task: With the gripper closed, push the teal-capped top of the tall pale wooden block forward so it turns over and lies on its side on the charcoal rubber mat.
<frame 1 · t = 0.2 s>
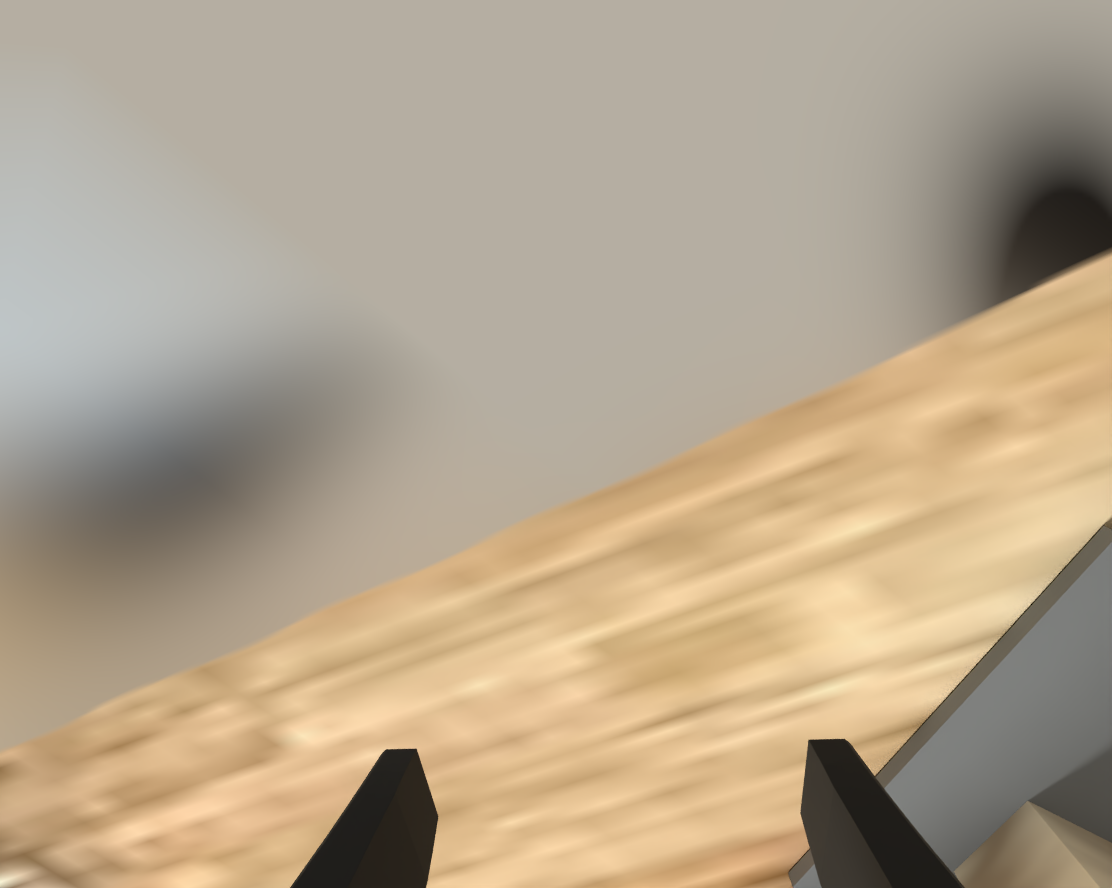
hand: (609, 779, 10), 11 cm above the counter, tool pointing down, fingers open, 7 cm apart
mat: (1077, 797, 21), on the counter
tall block: (1036, 860, 22), point 1 cm above the counter, touching mat
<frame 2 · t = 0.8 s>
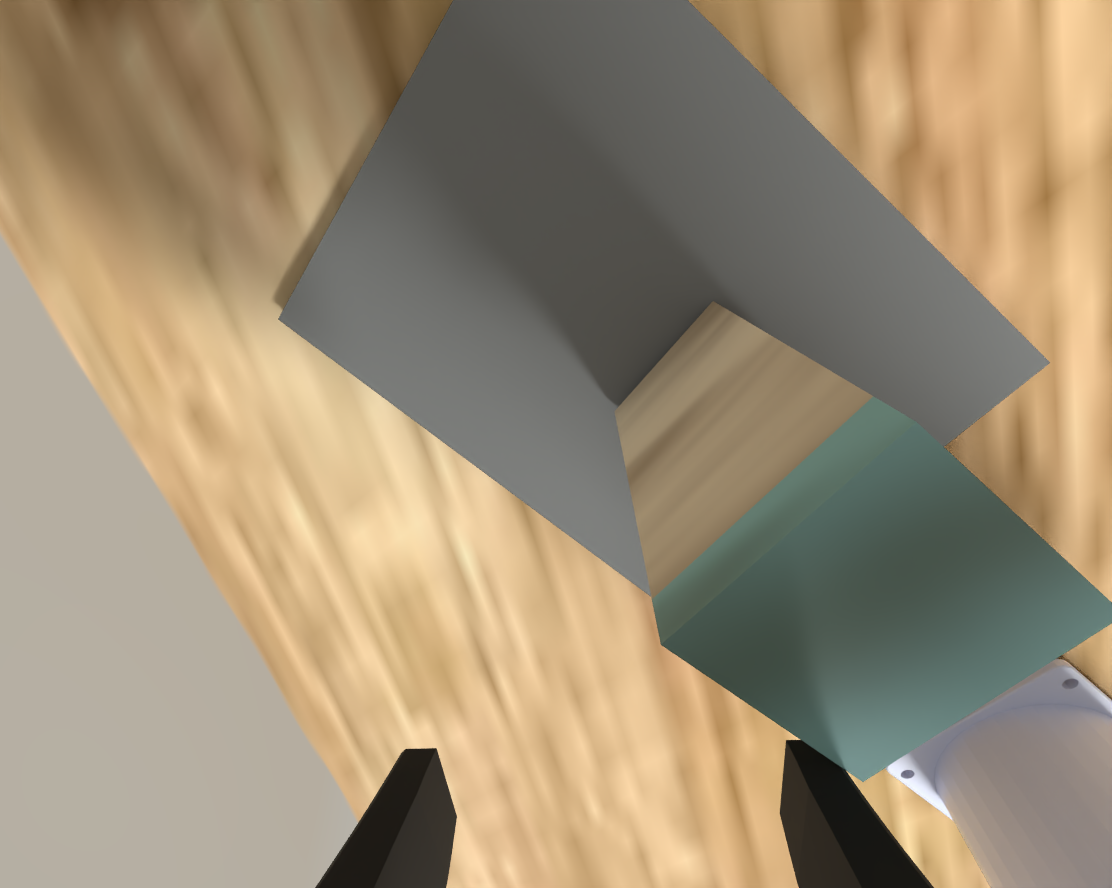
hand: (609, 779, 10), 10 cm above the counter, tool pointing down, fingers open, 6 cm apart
mat: (640, 335, 17), on the counter
tall block: (713, 401, 17), point 1 cm above the counter, touching gripper, mat
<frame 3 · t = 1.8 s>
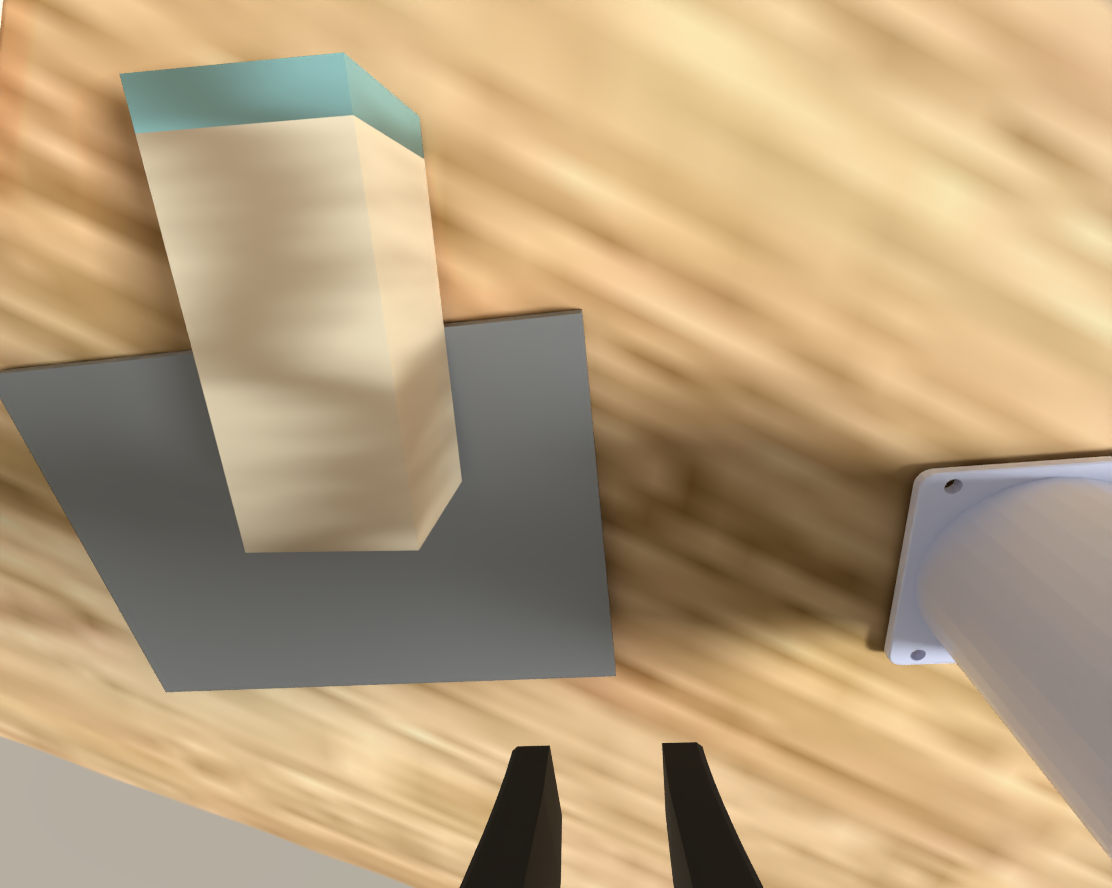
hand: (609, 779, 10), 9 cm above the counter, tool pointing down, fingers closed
mat: (339, 530, 20), on the counter
tall block: (367, 512, 15), point 3 cm above the counter, tilted 96°, touching mat
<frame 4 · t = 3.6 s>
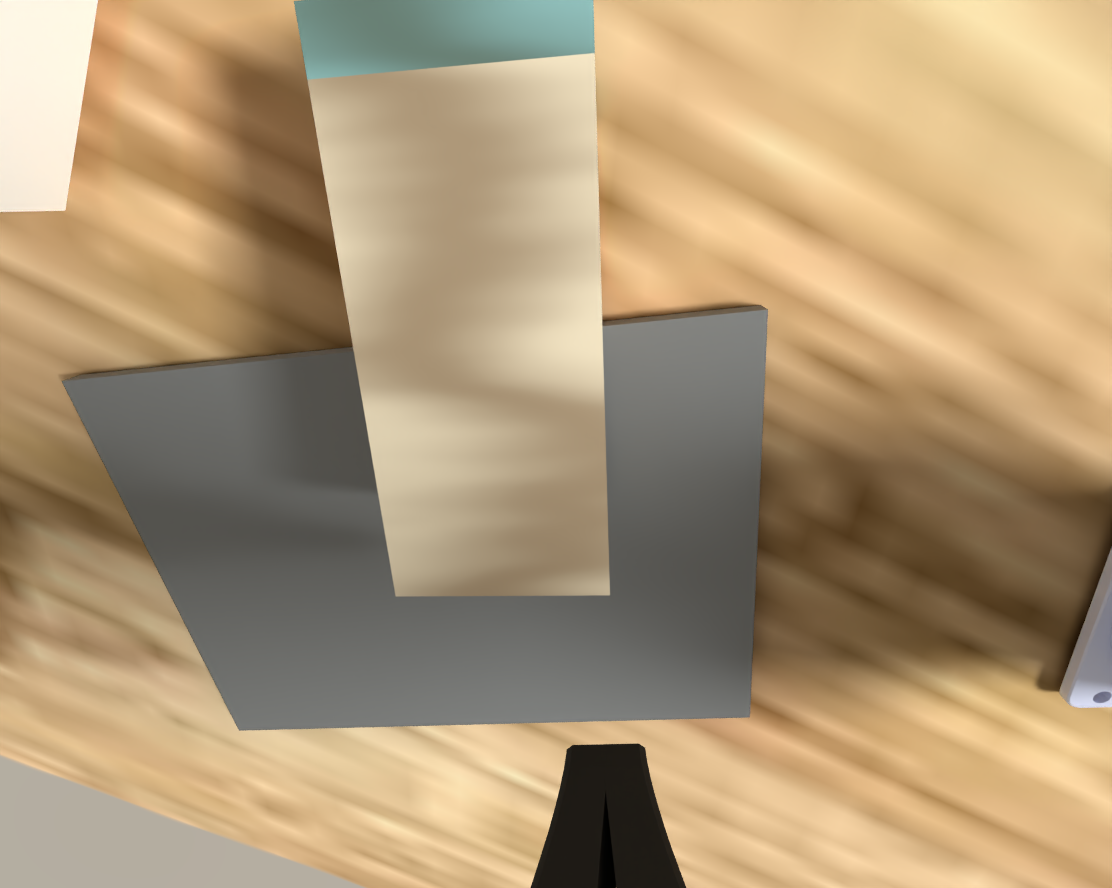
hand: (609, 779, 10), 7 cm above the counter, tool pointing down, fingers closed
mat: (448, 556, 17), on the counter
tall block: (516, 543, 13), point 3 cm above the counter, tilted 96°, touching mat
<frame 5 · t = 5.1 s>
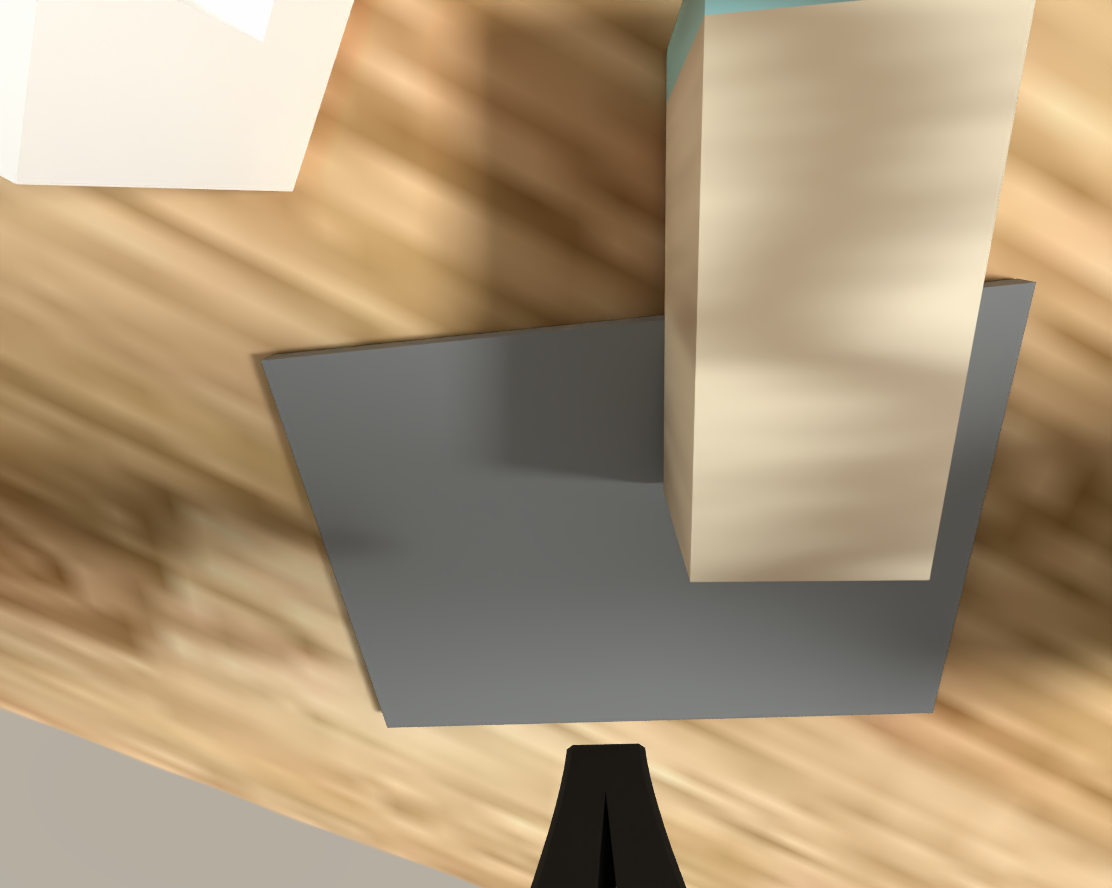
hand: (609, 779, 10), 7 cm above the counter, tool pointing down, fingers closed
mat: (634, 545, 17), on the counter
tall block: (771, 527, 12), point 3 cm above the counter, tilted 96°, touching mat
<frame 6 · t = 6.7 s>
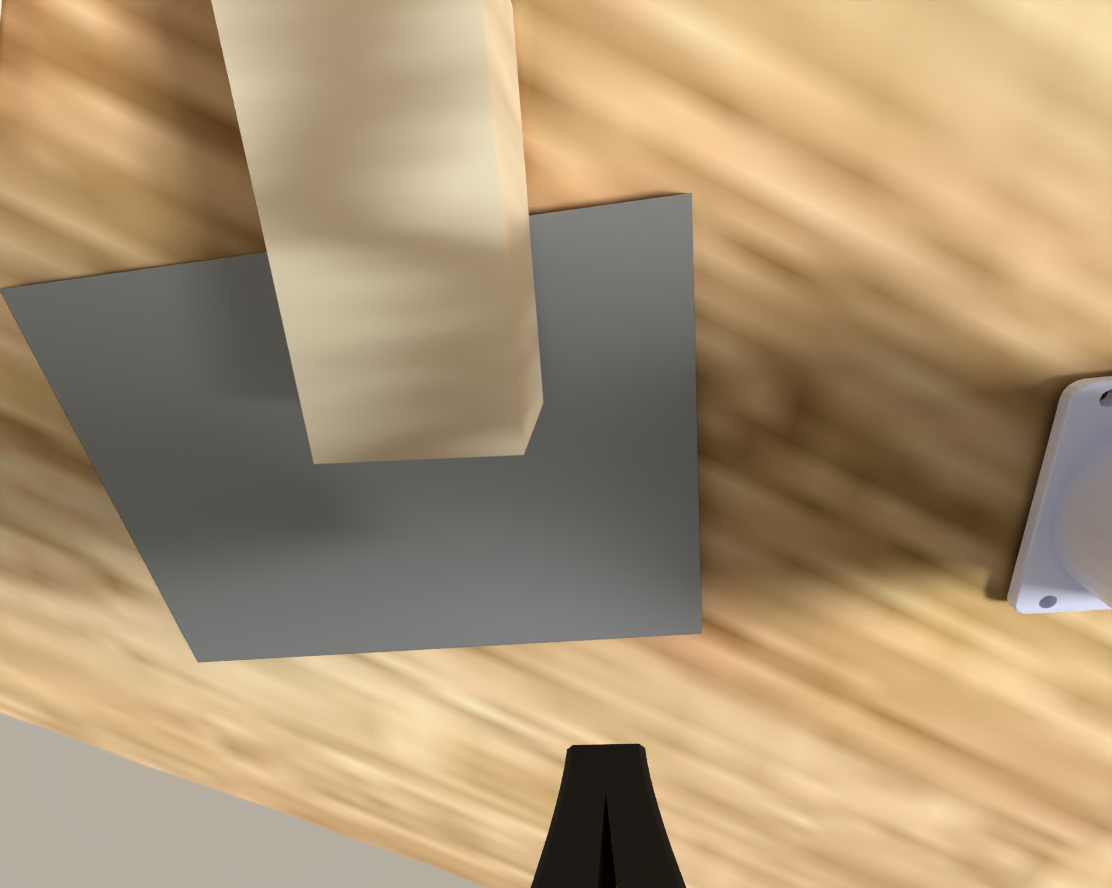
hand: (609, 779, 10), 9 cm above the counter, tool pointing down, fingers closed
mat: (395, 471, 17), on the counter
tall block: (445, 428, 13), point 3 cm above the counter, tilted 96°, touching mat
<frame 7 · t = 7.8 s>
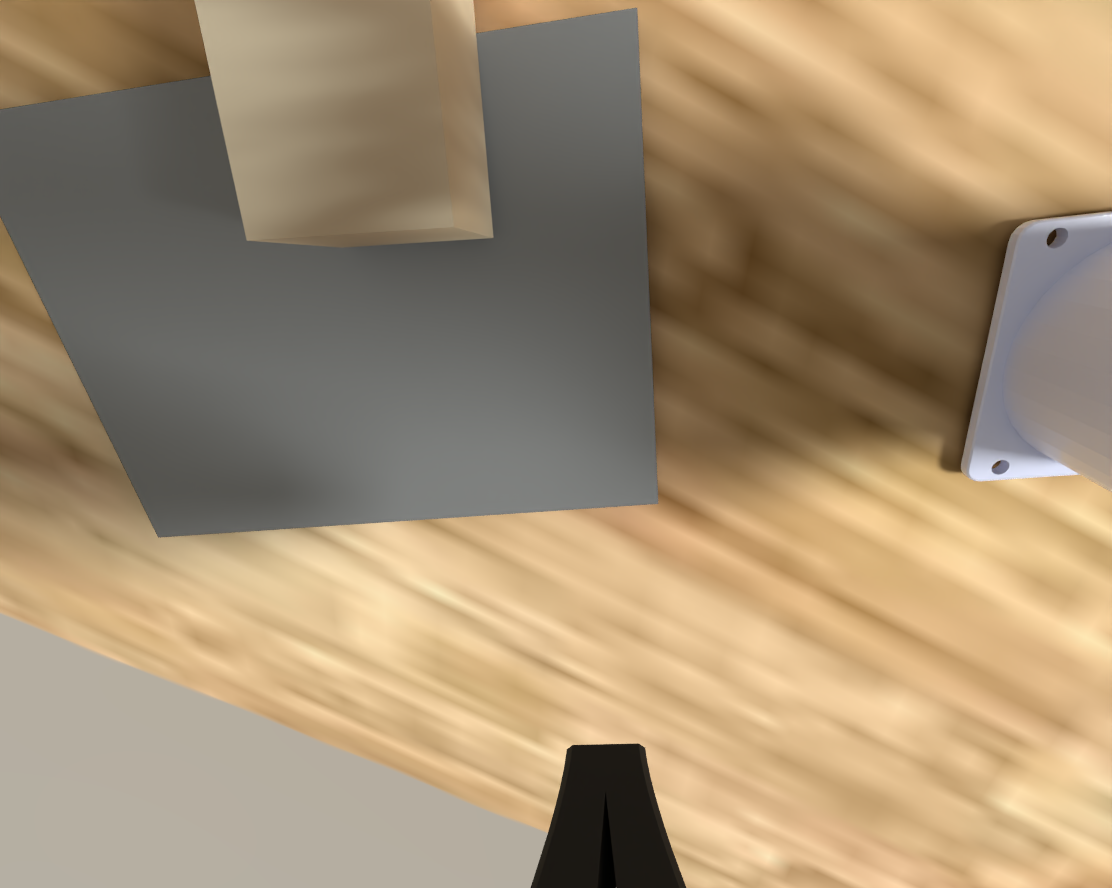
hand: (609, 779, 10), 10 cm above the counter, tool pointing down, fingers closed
mat: (351, 327, 17), on the counter
tall block: (388, 239, 13), point 3 cm above the counter, tilted 96°, touching mat
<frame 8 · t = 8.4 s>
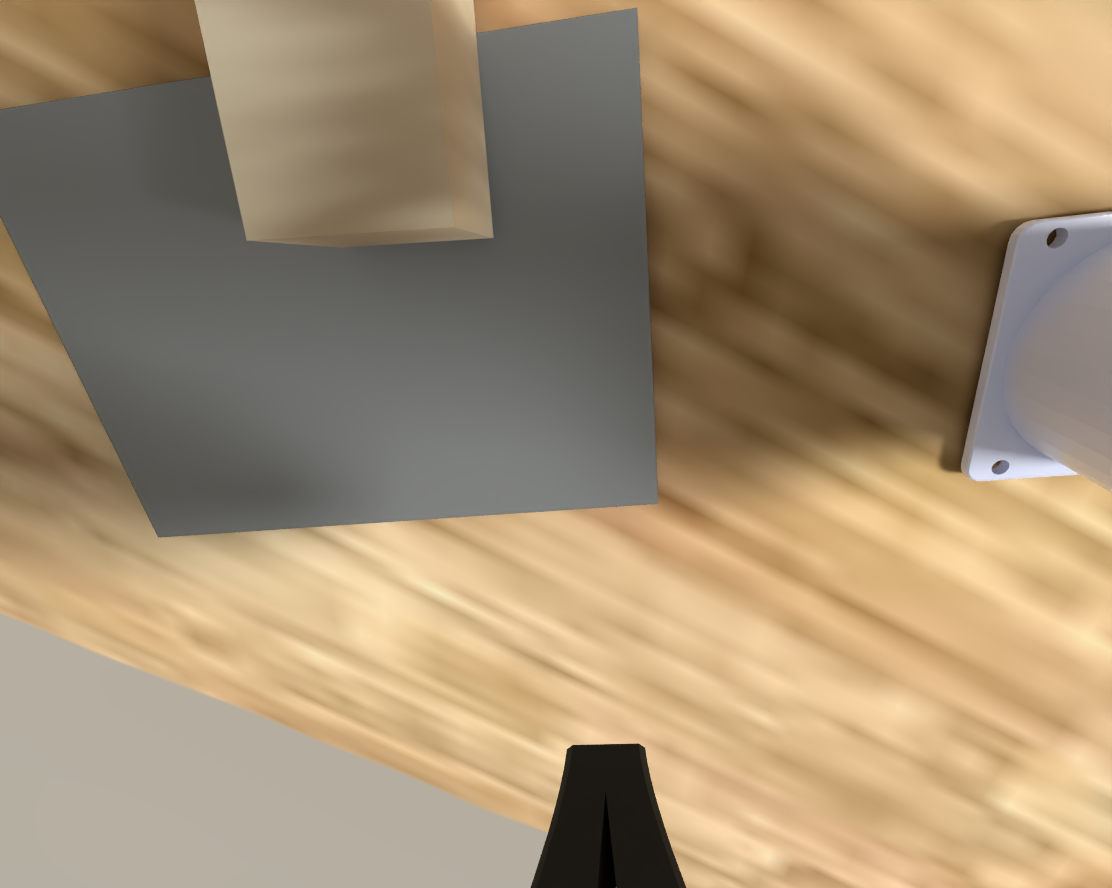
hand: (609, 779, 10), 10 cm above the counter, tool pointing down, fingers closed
mat: (351, 327, 17), on the counter
tall block: (388, 239, 13), point 3 cm above the counter, tilted 96°, touching mat
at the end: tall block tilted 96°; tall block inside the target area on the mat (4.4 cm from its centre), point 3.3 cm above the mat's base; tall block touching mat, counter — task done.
